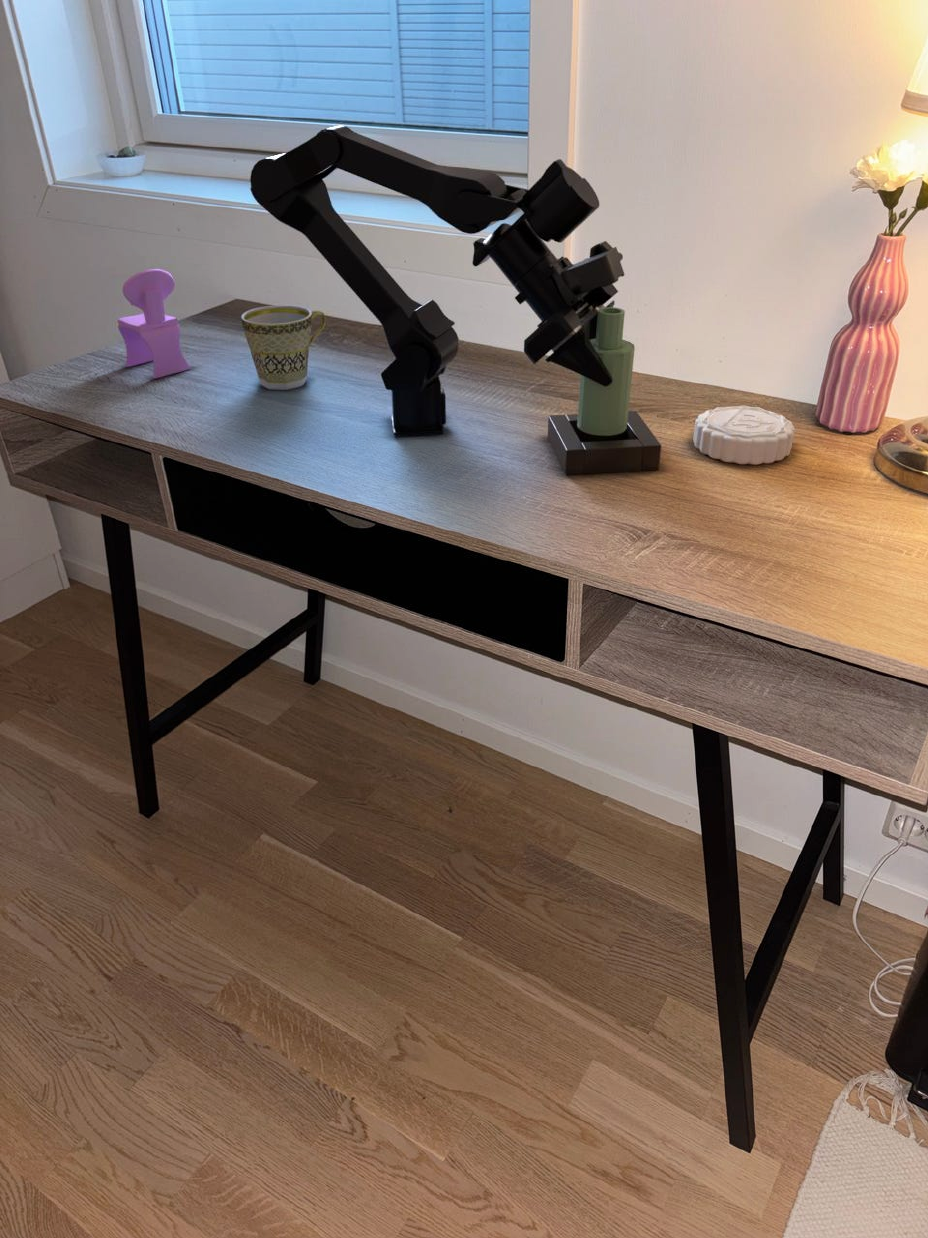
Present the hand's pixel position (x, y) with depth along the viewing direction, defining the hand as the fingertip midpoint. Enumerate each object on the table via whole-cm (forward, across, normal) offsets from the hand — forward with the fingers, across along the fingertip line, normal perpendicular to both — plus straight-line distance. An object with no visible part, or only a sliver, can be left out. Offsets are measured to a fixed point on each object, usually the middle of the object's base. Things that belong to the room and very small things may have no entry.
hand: (617, 375), depth 115 cm
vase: (+4, 0, +6) cm, 7 cm away
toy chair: (-45, +6, +60) cm, 75 cm away
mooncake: (+17, +9, -3) cm, 20 cm away
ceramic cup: (-29, +9, +44) cm, 53 cm away
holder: (+6, 0, +8) cm, 10 cm away
